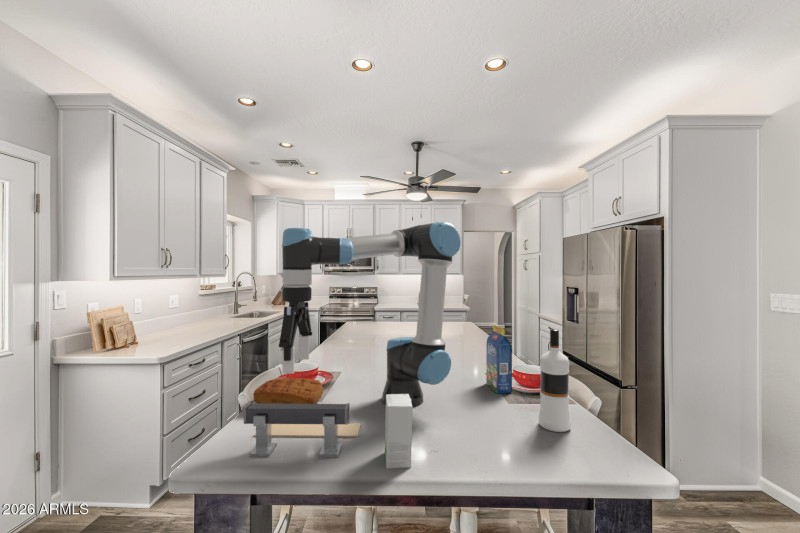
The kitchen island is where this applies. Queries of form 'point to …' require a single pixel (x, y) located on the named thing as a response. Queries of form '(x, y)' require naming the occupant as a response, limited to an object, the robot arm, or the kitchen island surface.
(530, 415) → the kitchen island surface
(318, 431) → the mat
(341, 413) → the rail
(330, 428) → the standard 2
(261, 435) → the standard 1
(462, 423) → the kitchen island surface
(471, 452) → the kitchen island surface
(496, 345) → the blue food package
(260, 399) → the inscribed clay slab
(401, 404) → the skincare box
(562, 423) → the vodka
